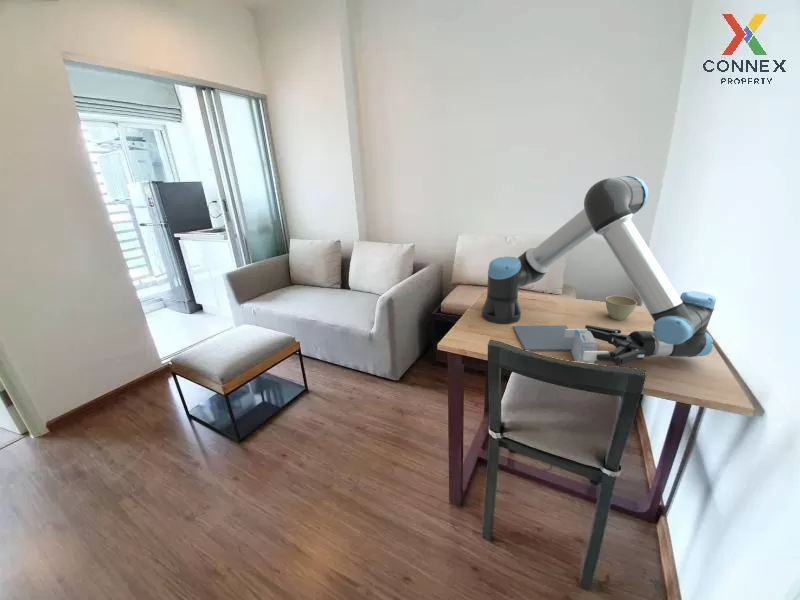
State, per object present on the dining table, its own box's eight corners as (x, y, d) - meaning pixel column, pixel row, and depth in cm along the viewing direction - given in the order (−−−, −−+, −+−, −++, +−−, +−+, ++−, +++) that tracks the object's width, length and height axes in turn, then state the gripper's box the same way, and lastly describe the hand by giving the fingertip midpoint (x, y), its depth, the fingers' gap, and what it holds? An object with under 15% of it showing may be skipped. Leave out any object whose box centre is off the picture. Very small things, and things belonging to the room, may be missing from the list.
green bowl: (600, 310, 134) (604, 294, 131) (629, 313, 130) (633, 296, 127) (604, 321, 125) (608, 303, 122) (635, 324, 121) (640, 306, 119)
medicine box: (593, 368, 97) (598, 343, 94) (576, 367, 98) (581, 341, 95) (586, 354, 104) (590, 330, 101) (570, 353, 106) (574, 329, 102)
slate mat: (525, 351, 108) (525, 349, 108) (513, 327, 124) (513, 325, 123) (585, 351, 106) (586, 349, 106) (565, 327, 122) (565, 325, 122)
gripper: (674, 379, 87) (590, 378, 89) (623, 334, 110) (557, 335, 112) (681, 355, 85) (595, 354, 87) (627, 314, 108) (560, 315, 110)
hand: (573, 343), depth 99 cm, fingers open, 13 cm apart
